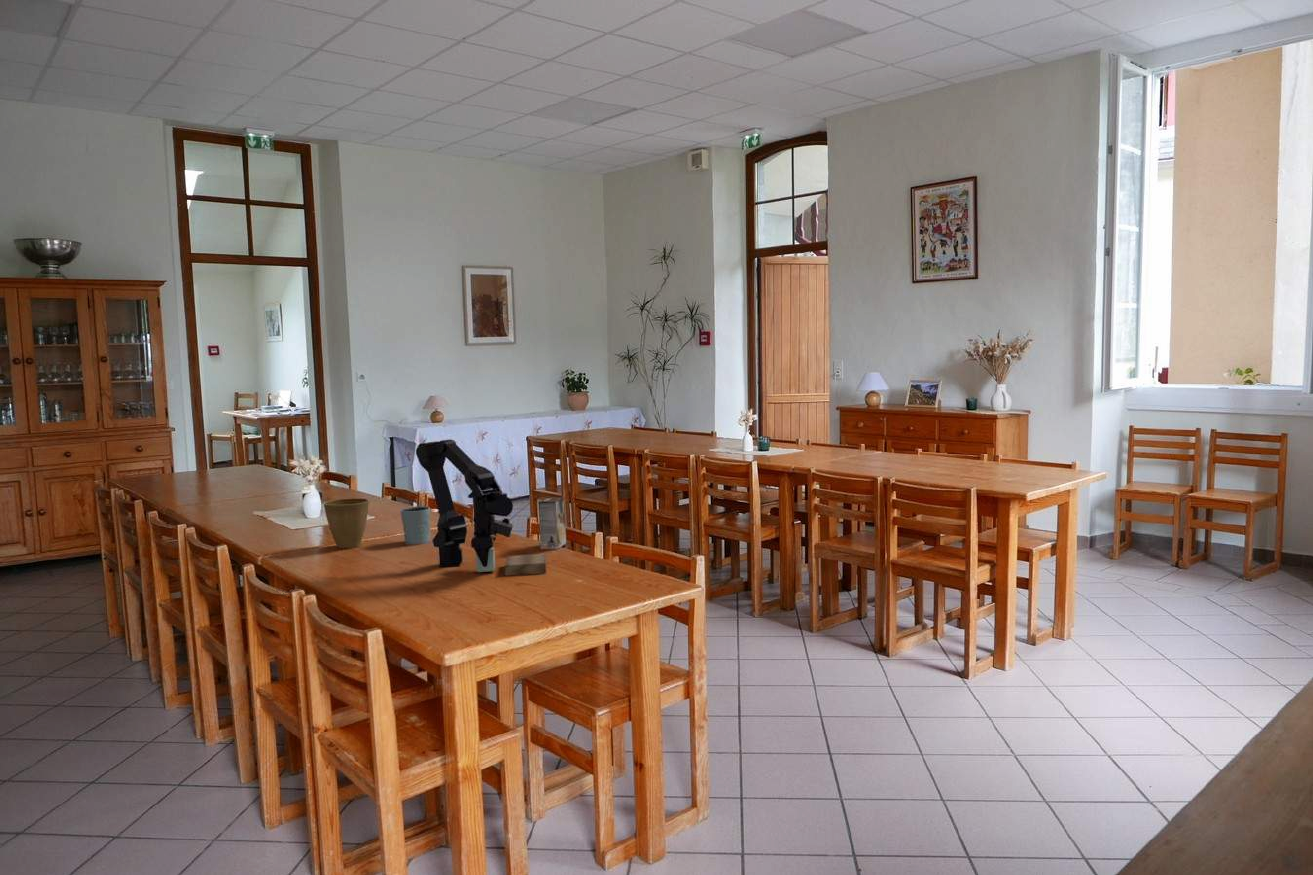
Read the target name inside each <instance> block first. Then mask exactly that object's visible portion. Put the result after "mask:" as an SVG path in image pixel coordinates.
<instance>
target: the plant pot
mask: <svg viewBox="0 0 1313 875" xmlns="http://www.w3.org/2000/svg"><path fill="white" fill-rule="evenodd" d="M369 503H370V499H367V498H361V497H360V498H359V497H355V498H354V497H353V498H351V497H349V498H339V499H333V500H328V501H324V502H323V508H324V512H325V517H326V520H327V521H326V522H327V524H328V527H329V530H330V533H331V535H332V538H333V540H334V543H335V545H336V547H337V548H338V549H352V548H353V549H354V548H358V547H359V546H360V545H361V543H362V539H363V536H364V532H365V530H366V529H365V528H366V525H367V519H368V513H369Z"/></svg>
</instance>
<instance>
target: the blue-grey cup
mask: <svg viewBox="0 0 1313 875" xmlns="http://www.w3.org/2000/svg"><path fill="white" fill-rule="evenodd" d="M400 517H401V521H402V526H403V533H404V534H403V536H404V542H405V544H406V545H410V546H416V545H424V544H428V543H430V542H431V531H430V530H431V523H430V522H431V507H430V506H411V507H410V506H409V507H405V508H402V509H400Z"/></svg>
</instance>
